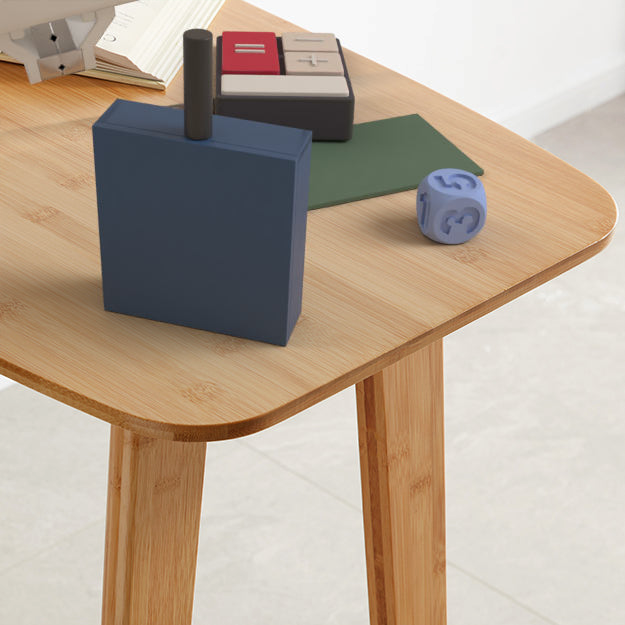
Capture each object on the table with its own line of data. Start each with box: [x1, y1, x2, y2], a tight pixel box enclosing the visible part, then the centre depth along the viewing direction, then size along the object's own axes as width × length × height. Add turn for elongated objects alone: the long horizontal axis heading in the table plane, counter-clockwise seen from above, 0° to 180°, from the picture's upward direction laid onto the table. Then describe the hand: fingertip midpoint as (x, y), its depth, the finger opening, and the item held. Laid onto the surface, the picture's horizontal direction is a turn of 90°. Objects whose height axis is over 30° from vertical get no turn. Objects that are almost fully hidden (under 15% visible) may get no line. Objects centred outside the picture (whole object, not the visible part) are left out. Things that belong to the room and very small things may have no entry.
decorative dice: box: [415, 169, 488, 245], centre depth 81 cm, size 4×4×4 cm
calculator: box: [214, 30, 356, 140], centre depth 96 cm, size 11×4×15 cm
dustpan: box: [91, 28, 312, 347], centre depth 67 cm, size 4×12×19 cm, turn 76°
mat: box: [308, 112, 485, 211], centre depth 88 cm, size 24×10×1 cm, turn 116°
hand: (59, 64), depth 49 cm, fingers closed
